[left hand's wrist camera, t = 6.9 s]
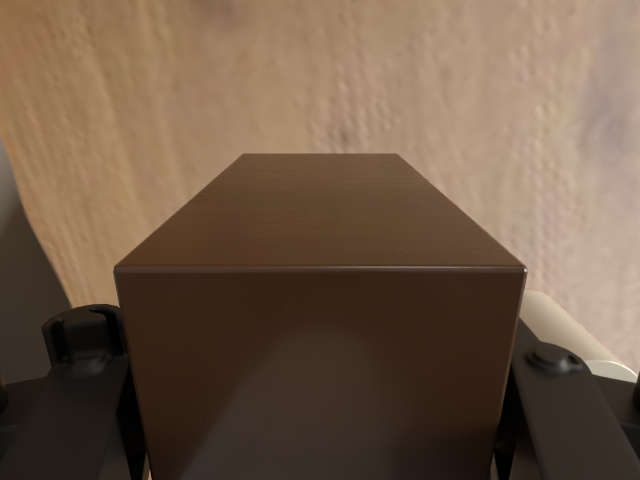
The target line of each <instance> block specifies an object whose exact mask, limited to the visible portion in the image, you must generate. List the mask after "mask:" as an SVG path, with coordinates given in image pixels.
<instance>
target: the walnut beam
mask: <svg viewBox="0 0 640 480" xmlns="http://www.w3.org/2000/svg"><path fill="white" fill-rule="evenodd" d="M113 274H114V279H115V284H116V290H117V295H118V301H119V306H120V311H121V317H122V322H123V327H124V333H125V338H126V344H127V349H128V354H129V360H130V365H131V370H132V376H133V381H134V387H135V392H136V397H137V403H138V408H139V413H140V419H141V424H142V430H143V435H144V440H145V446H146V451H147V456H148V462H149V467H150V473H151V478H152V480H489V475H490V470H491V465H492V459H493V454H494V449H495V443H496V438H497V433H498V427H499V422H500V417H501V411H502V406H503V401H504V395H505V390H506V385H507V379H508V374H509V369H510V363H511V358H512V353H513V347H514V342H515V337H516V331H517V326H518V321H519V315H520V310H521V304H522V299H523V294H524V288H525V283H526V278H527V268H526V266H525V265H524V264H523V263H522V262H521V261H519V260H518V259H517V258H516V257H515V256H514V255H513V254H511V253H510V252H509V251H508V250H507V249H506V248H505V247H503V246H502V245H501V244H500V243H499V242H498V241H497V240H495V239H494V238H493V237H492V236H491V235H490V234H489V233H487V232H486V231H485V230H484V229H483V228H482V227H480V226H479V225H478V224H477V223H476V222H475V221H474V220H472V219H471V218H470V217H469V216H468V215H467V214H466V213H464V212H463V211H462V210H461V209H460V208H459V207H458V206H456V205H455V204H454V203H453V202H452V201H451V200H450V199H448V198H447V197H446V196H445V195H444V194H443V193H442V192H440V191H439V190H438V189H437V188H436V187H435V186H433V185H432V184H431V183H430V182H429V181H428V180H427V179H425V178H424V177H423V176H422V175H421V174H420V173H419V172H417V171H416V170H415V169H414V168H413V167H412V166H411V165H409V164H408V163H407V162H406V161H405V160H404V159H403V158H401V157H400V156H399V155H398V154H242V155H241V156H240V157H239V158H238V159H237V160H235V161H234V162H233V163H232V164H231V165H230V166H229V167H227V168H226V169H225V170H224V171H223V172H222V173H221V174H219V175H218V176H217V177H216V178H215V179H214V180H213V181H211V182H210V183H209V184H208V185H207V186H206V187H205V188H203V189H202V190H201V191H200V192H199V193H198V194H197V195H195V196H194V197H193V198H192V199H191V200H190V201H189V202H187V203H186V204H185V205H184V206H183V207H182V208H181V209H179V210H178V211H177V212H176V213H175V214H174V215H173V216H171V217H170V218H169V219H168V220H167V221H166V222H165V223H163V224H162V225H161V226H160V227H159V228H158V229H157V230H155V231H154V232H153V233H152V234H151V235H150V236H149V237H147V238H146V239H145V240H144V241H143V242H142V243H141V244H139V245H138V246H137V247H136V248H135V249H134V250H133V251H131V252H130V253H129V254H128V255H127V256H126V257H125V258H123V259H122V260H121V261H120V262H119V263H118V264H117V265H115V267H114V271H113Z"/></svg>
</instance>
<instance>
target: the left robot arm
mask: <svg viewBox="0 0 640 480" xmlns="http://www.w3.org/2000/svg"><path fill="white" fill-rule="evenodd" d="M41 328H42V332H43V336H44V339H45V343H46V347H47V351H48V355H49V358H50V362H51V366H52V368H51V369H50V371H49V373H48V375H47V376H46V377H42V378H37V379H32V380H27V381H22V382H17V383H11V384H6V385H5V384H4V380H3V377H2V374H1V371H0V480H148V477H149V470H150V467H149V462H148V456H147V451H146V446H145V440H144V435H143V430H142V424H141V419H140V413H139V408H138V403H137V397H136V392H135V387H134V381H133V376H132V370H131V365H130V360H129V354H128V349H127V344H126V338H125V333H124V327H123V322H122V317H121V311H120V308H119V307H117V306H114V305H109V304H92V305H87V306H81V307H77V308H74V309H71V310H68V311H65V312H62V313H60V314H58V315H57V316H55V317H53V318H51V319H49V320H48V321H47V322H46V323H45V324H44V325H43V326H42V327H41ZM489 480H640V372H639V375H638V378H637V382H636V383H634V382H629V381H624V380H618V379H613V378H608V377H603V376H598V375H594V374H592V372H591V371H590V369H589V367H588V366H587V364H586V363H585V362H584V361H583V360H582V359H581V358H580V357H579V356H577V355H576V354H574V353H573V352H571V351H570V350H567V349H565V348H563V347H560V346H558V345H555V344H551V343H547V342H542V341H540V340H539V339H538V338H537V337H536V335H535V334H534V333H533V332H532V331H531V330H530V328H529V327H528V326H527V325H526V324H525V323H524V322H523V320H522V319H521V318H520V317H519V321H518V326H517V331H516V337H515V342H514V347H513V353H512V358H511V363H510V369H509V374H508V379H507V385H506V390H505V395H504V401H503V406H502V411H501V417H500V422H499V427H498V433H497V438H496V443H495V449H494V454H493V459H492V465H491V470H490V475H489Z"/></svg>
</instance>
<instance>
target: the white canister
mask: <svg viewBox="0 0 640 480" xmlns="http://www.w3.org/2000/svg"><path fill="white" fill-rule="evenodd" d="M519 317H520V318H521V319H522V320H523V322H524V323H525V324H526V325H527V326H528V327H529V328H530V330H531V331H532V332H533V333H534V334H535V335H536V337H537V338H538V339H539V340H540V341H542V342H547V343H551V344H555V345H558V346H560V347H563V348H565V349H567V350H570V351H571V352H573V353H574V354H576V355H577V356H579V357H580V358H581V359H582V360H583V361H584V362H585V363H586V364H587V366H588V367H589V369H590V371H591V372H592V374H594V375H598V376H603V377H608V378H613V379H618V380H624V381H629V382H634V383H636V382H637V378H638V376H637V375H636V374H635V373H634V372H633V371H632V370H631V369H630V368H629V367H628V366H626V365H625V364H624V363H623V362H622V361H621V360H620V359H619V358H618V357H617V356H615V355H614V354H613V353H612V352H611V351H610V350H609V349H608V348H607V347H605V346H604V345H603V344H602V343H601V342H600V341H599V340H598V339H597V338H595V337H594V336H593V335H592V334H591V333H590V332H589V331H588V330H587V329H585V328H584V327H583V326H582V325H581V324H580V323H579V322H578V321H577V320H576V319H574V318H573V317H572V316H571V315H570V314H569V313H568V312H567V311H566V310H564V309H563V308H562V307H561V306H560V305H559V304H558V303H557V302H556V301H554V300H553V299H552V298H551V297H550V296H548V295H546V294H544V293H542V292H539V291H536V290H529V289H524V294H523V299H522V304H521V310H520V315H519Z"/></svg>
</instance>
